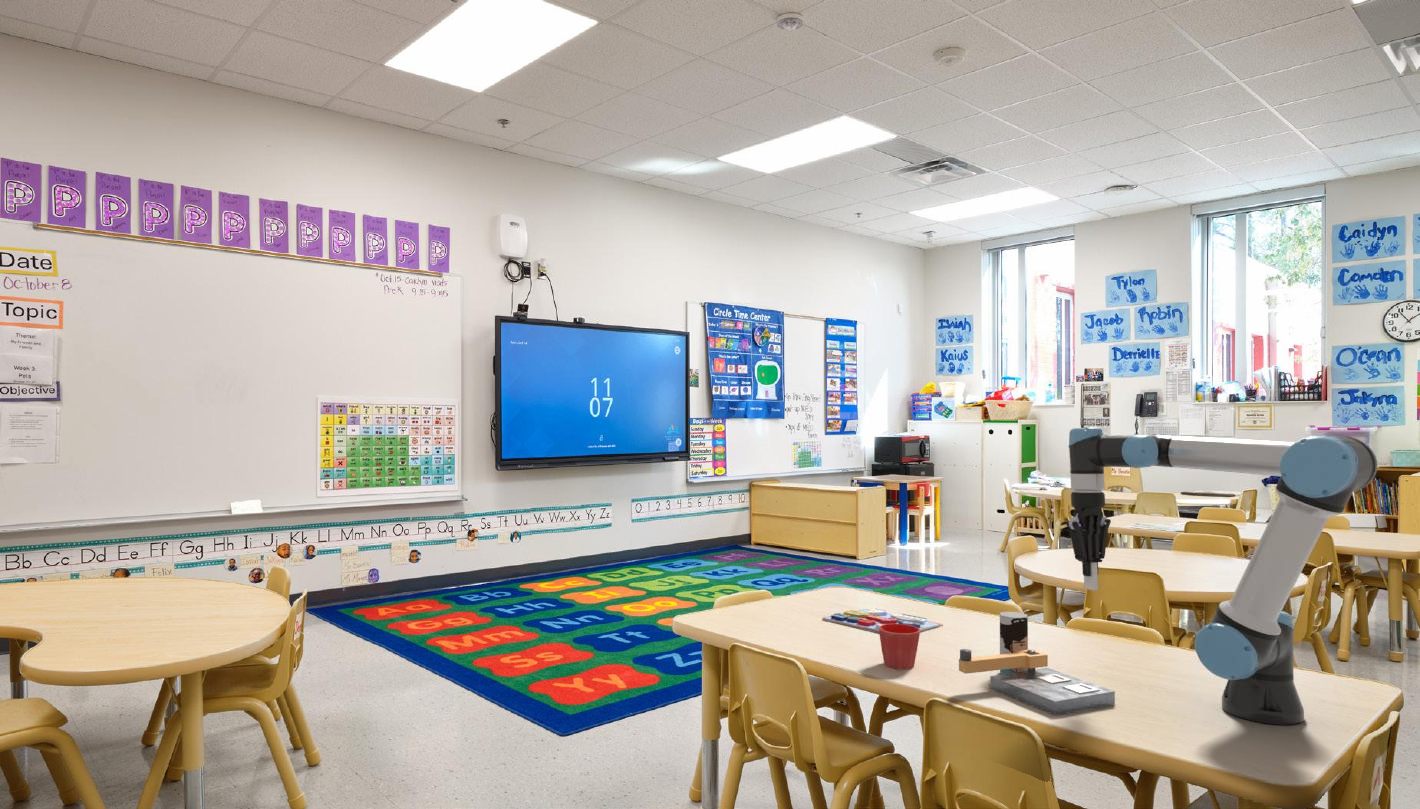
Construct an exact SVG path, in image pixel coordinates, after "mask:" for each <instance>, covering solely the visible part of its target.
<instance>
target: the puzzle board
mask: <svg viewBox="0 0 1420 809" xmlns="http://www.w3.org/2000/svg"><path fill="white" fill-rule="evenodd" d="M821 619H822V621H825V622H829V623H832V624H833V623H834V624H837V625H841V626H842V625H843V626H846V627H851V628H854V629H859V630H864V631H869V632H871V633H878V634H879V626H881V625H884V624H906V625H912V626H915V627H917V628H919V629H920V633H924V632H927V631H931V630H934V629H937V628H941V627H940V626H942V627H943V626H944V624H943V623H938V622H933V621H928V619H927V618H926V617H923V616H922V617H921V616H917V615H916V616H915V615H911V614H905V613H900V614H895V613H893V614H891V613H887V610H884V609H879V608H871V609H868V608H867V609H860V610H854V609H853V610H852V609H850V610H846V611H843V613H839V612H835V613H833V614H831V615H829V616H824V617H822V618H821Z"/></svg>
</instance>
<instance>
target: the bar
mask: <svg viewBox="0 0 1420 809" xmlns="http://www.w3.org/2000/svg"><path fill="white" fill-rule="evenodd" d="M1028 650H1029V649H1028ZM1028 650H1022V651H1016V653H1010V654H1000V653H999V654H991V655H984V656H983V655H982V656H975V657H973V656H972V650H971V649H967V648H961V649H960V650H959V658H958V672H960V673H963V674H967V675H968V674H974V673H984V672H992V671H993V672H994V671H1000V670H1003V669H1012V668H1021V667H1028V668H1035V669H1039V668H1048V662H1049V661H1048V660H1049V659H1048V654H1046V653H1045V652H1040V651H1038V650H1037V649H1031V650H1034V651H1035V655H1029V654H1028V653H1027V651H1028Z"/></svg>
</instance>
